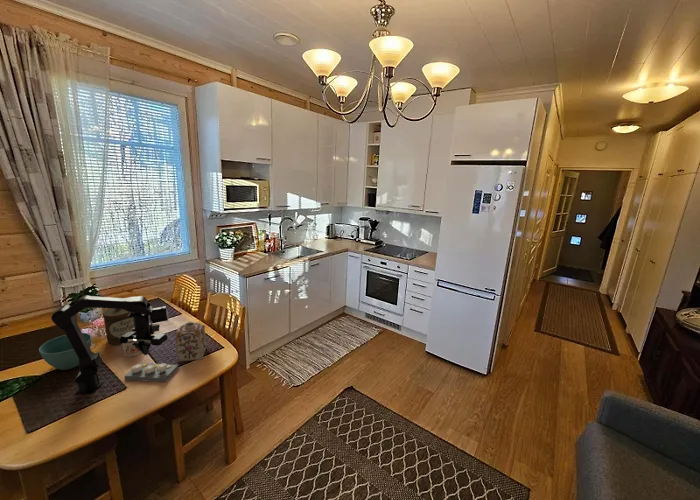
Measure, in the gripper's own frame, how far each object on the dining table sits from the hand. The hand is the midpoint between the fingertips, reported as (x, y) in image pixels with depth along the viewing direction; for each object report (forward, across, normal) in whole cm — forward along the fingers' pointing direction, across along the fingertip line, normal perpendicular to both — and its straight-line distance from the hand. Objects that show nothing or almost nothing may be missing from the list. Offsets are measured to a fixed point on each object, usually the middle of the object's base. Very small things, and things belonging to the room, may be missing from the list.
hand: (146, 354), depth 138 cm
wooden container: (+11, +35, -29) cm, 47 cm away
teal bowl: (+11, +42, -4) cm, 44 cm away
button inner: (+10, +5, +1) cm, 11 cm away
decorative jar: (+11, -11, -18) cm, 24 cm away
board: (+11, -1, -1) cm, 11 cm away
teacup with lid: (+11, +19, -18) cm, 28 cm away
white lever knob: (+9, -7, 0) cm, 11 cm away
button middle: (+10, -1, 0) cm, 10 cm away
